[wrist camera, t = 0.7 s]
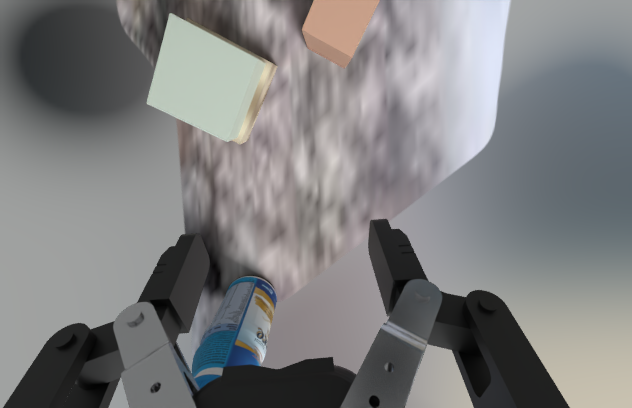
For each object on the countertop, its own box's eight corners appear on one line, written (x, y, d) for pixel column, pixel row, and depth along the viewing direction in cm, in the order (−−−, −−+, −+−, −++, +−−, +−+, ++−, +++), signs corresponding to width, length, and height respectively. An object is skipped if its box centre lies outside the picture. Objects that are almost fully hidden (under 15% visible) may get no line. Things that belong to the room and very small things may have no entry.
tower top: (188, 23, 31) (169, 12, 27) (265, 63, 32) (257, 58, 28) (166, 103, 34) (146, 103, 30) (237, 137, 35) (227, 142, 31)
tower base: (201, 26, 34) (186, 17, 30) (277, 67, 36) (272, 63, 32) (177, 105, 37) (161, 106, 34) (248, 139, 39) (240, 144, 35)
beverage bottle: (234, 266, 45) (171, 385, 26) (285, 283, 46) (258, 409, 27) (221, 306, 48) (155, 439, 29) (269, 321, 49) (235, 460, 30)
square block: (326, 4, 33) (327, -34, 23) (364, 26, 33) (380, -2, 24) (307, 48, 34) (301, 29, 25) (344, 68, 35) (351, 57, 26)
